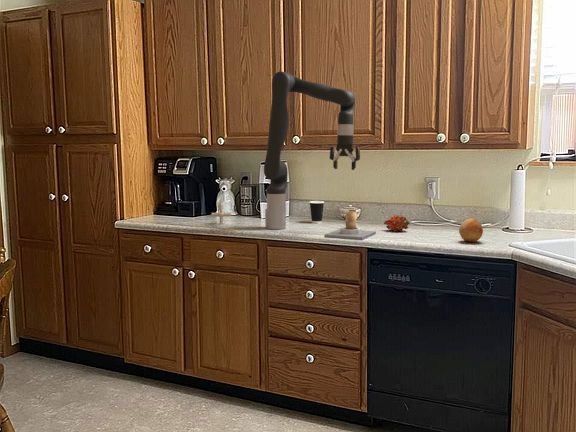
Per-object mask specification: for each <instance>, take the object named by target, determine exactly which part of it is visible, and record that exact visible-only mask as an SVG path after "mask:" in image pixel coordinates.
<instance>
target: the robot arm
mask: <svg viewBox="0 0 576 432" xmlns="http://www.w3.org/2000/svg"><path fill="white" fill-rule="evenodd" d="M288 93H298V94H302V95H306V96H309V97H310V98H311V97H312V98H314V99H317V100H321V101H324V102H328V103H329V102H330V103H333V104H336V105H339V106H340V107H339V108H340V109H339V112H338V116H337V119H338V120H337V121H338V122H337V130H336V146H331V147H330V148H329V160H331V161H333V165H332V168H334V170H337V169H338V160H339V159H340V158H341V157H349V159H350V160H351V171H354V170H355V169H356V168H357V167H356V165H357V162H358V161H360V159H361V151H360V150H361V149H360V147H354V134H355V132H354V129H355V128H354V111H355V106H356V96H355V94H354V93H353V92H352V91H350V90H347V89H341V88H337V87H334V86H330V85H328V84H324V83H318V82H313V81H309V80H304V79H302V78H299V77H297V76H295V75H293V74H291V73H289V72H287V71H278V72H276V73H275V74H273V77H272V79H271V107H270V114H269V115H270V116H269V123H268V124H269V126H268V138H267V149H266V155H265V160H264V164H263V165H264V166H263V174H264V176H265V178H266V179H267V180H270V183H269V185H268V186H267V187H266V208H265V210H264V213H265V219H264V221H265V222H264V223H265V229H269V230H284V229H286V227H287V221H286V220H287V219H286V217H287V216H286V215H287V210H286V209H287V208H286V206H287V205H286V199H287V198H286V197H287V196H286V195H287V194H286V191H287V187H288V173H289V172H288V167H287V164H286V163H285V161H283V160H281V154H282V149H283V146H284V144H285V143H286V140H287V137H288V133H289V124H290V123H289V122H290V119H289V118H290V117H289V111H288V110H289V109H288V105H287V104H288V103H287V101H288V100H287V99H288V95H289V94H288ZM335 152H336V154H335ZM353 152H354V153H355V155H354V154H353Z"/></svg>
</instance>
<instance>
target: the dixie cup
mask: <svg viewBox="0 0 576 432" xmlns="http://www.w3.org/2000/svg"><path fill="white" fill-rule="evenodd" d="M324 205H325V201H323V200H312V201H309V208H310V209H309V210H310V216H311V222H312V224H322V221H323V215H324V214H323V213H324Z"/></svg>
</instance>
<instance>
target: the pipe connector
mask: <svg viewBox="0 0 576 432" xmlns="http://www.w3.org/2000/svg"><path fill="white" fill-rule="evenodd" d="M218 209H219V211H218V212H211V217H219V225H223V224H224V217H231V216H232V212H224V205H223V204H219V208H218Z"/></svg>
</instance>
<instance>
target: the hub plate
mask: <svg viewBox="0 0 576 432" xmlns="http://www.w3.org/2000/svg"><path fill="white" fill-rule="evenodd" d="M374 235H377V231H375V230H374V231H373V230H362V228H360V227H357V226H356V229H355V230H347V229H346V226H345V227H341V228H338V229H336V230H333V231H331V232H327V233H325V234H324V238H332V239H342V240H343V239H345V240H358V241H364V240H365V239H366V240H367V239H368V238H370V237H372V236H374Z"/></svg>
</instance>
